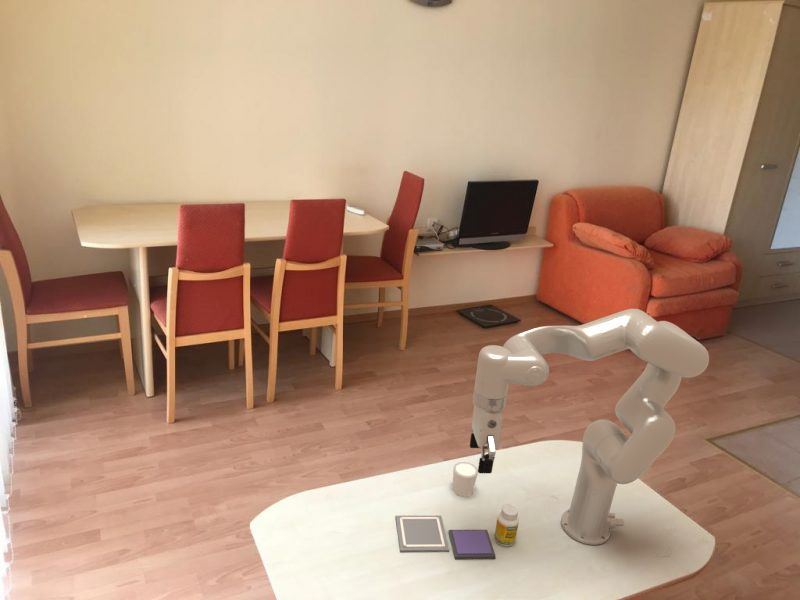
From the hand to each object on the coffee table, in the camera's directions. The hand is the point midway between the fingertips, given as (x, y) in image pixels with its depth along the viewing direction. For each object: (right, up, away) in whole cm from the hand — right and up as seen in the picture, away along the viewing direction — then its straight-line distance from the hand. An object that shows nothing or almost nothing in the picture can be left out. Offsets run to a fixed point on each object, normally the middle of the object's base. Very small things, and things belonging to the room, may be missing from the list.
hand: (480, 459), depth 151 cm
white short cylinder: (-2, -15, +25) cm, 29 cm away
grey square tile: (-14, -21, +7) cm, 26 cm away
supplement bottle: (+7, -23, +8) cm, 25 cm away
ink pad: (-2, -23, +5) cm, 23 cm away
